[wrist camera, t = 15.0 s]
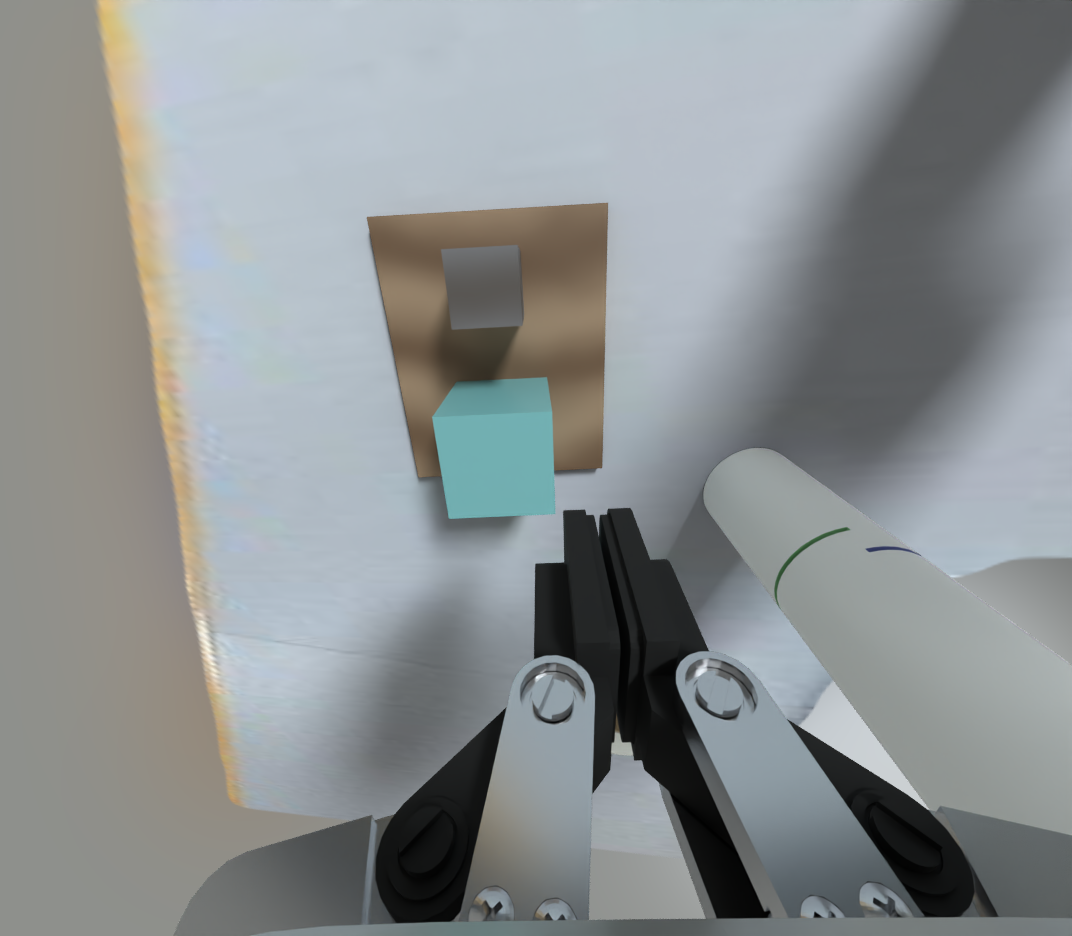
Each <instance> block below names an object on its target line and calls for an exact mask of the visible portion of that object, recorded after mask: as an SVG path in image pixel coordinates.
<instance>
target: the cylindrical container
mask: <svg viewBox="0 0 1072 936" xmlns="http://www.w3.org/2000/svg"><path fill="white" fill-rule="evenodd" d="M703 499H704V504H705V507H706V509H707V511H708V512H709V513H710V515H711V516H712V518H713V519H714V520H715V522H716V523H717V524H718V526H719V527H720V528H721V530H722V531H723V532H724V534H725V535H726V536H727V538H728V539H729V540H730V542H731V543H732V544H733V546H734V547H735V548H736V550H737V551H738V553H739V554H740V555H741V557H742V558H743V559H744V561H745V562H746V563H747V565H748V566H749V567H750V569H751V570H752V571H753V573H754V574H755V575H756V577H757V578H758V579H759V581H760V582H761V583H762V585H763V586H764V588H765V589H766V590H767V592H768V593H769V594H770V596H771V597H772V598H773V600H774V601H775V602H776V604H777V605H778V606H779V608H780V609H781V610H782V612H783V613H784V614H785V616H786V617H787V619H788V620H789V621H790V623H791V624H792V625H793V627H794V628H795V629H796V631H797V632H798V633H799V635H800V636H801V638H802V639H803V640H804V642H805V643H806V644H807V646H808V647H809V648H810V650H811V651H812V652H813V654H814V655H815V656H816V658H817V659H818V660H819V662H820V663H821V664H822V666H823V667H824V668H825V670H826V671H827V672H828V674H829V675H830V676H831V678H832V679H833V681H834V682H835V683H836V685H837V686H838V687H839V688H840V690H841V691H842V693H843V694H844V695H845V697H846V698H847V699H848V701H849V702H850V703H851V704H852V706H853V707H854V709H855V710H856V711H857V713H858V714H859V715H860V717H861V718H862V719H863V721H864V722H865V723H866V725H867V726H868V728H869V729H870V730H871V732H872V733H873V734H874V736H875V737H876V738H877V740H878V741H879V742H880V744H881V745H882V746H883V748H884V749H885V750H886V752H887V753H888V754H889V756H890V757H891V758H892V760H893V761H894V762H895V764H896V765H897V766H898V768H899V769H900V771H901V772H902V773H903V774H904V776H905V777H906V779H907V780H908V781H909V783H910V784H911V785H912V787H913V788H914V789H915V791H916V792H917V793H918V795H919V796H920V797H921V799H922V800H923V801H924V803H925V804H926V805H927V807H928V808H929V810H931V811H937V810H938V808H939V807H940V806H944V807H948V808H953V809H957V810H962V811H966V812H970V813H975V814H979V815H984V816H988V817H993V818H997V819H1002V820H1006V821H1010V822H1015V823H1019V824H1024V825H1028V826H1033V827H1037V828H1041V829H1046V830H1050V831H1055V832H1059V833H1064V834H1068V835H1072V665H1071V664H1070V663H1069V662H1067V661H1066V660H1064V659H1063V658H1062V657H1060V656H1059V655H1057V654H1056V653H1055V652H1053V651H1052V650H1050V649H1049V648H1048V647H1046V646H1045V645H1044V644H1042V643H1041V642H1040V641H1038V640H1037V639H1036V638H1034V637H1033V636H1031V635H1030V634H1029V633H1027V632H1026V631H1024V630H1023V629H1022V628H1020V627H1019V626H1018V625H1016V624H1015V623H1013V622H1012V621H1011V620H1009V619H1008V618H1006V617H1005V616H1004V615H1002V614H1001V613H1000V612H998V611H997V610H995V609H994V608H993V607H991V606H990V605H989V604H987V603H986V602H984V601H983V600H981V599H980V598H979V597H978V596H976V595H975V594H973V593H972V592H971V591H969V590H968V589H966V588H965V587H963V586H962V585H961V584H959V583H958V582H957V581H955V580H954V579H953V578H951V577H950V576H949V575H947V574H946V573H944V572H943V571H942V570H940V569H939V568H937V567H936V566H935V565H933V564H932V563H931V562H929V561H928V560H926V559H925V558H923V557H922V556H921V555H919V554H918V553H917V552H915V551H914V550H913V549H911V548H910V547H908V546H907V545H906V544H904V543H903V542H902V541H900V540H899V539H897V538H896V537H895V536H893V535H892V534H891V533H889V532H888V531H886V530H885V529H884V528H882V527H881V526H879V525H878V524H877V523H875V522H874V521H873V520H871V519H870V518H868V517H867V516H866V515H864V514H863V513H861V512H860V511H859V510H857V509H856V508H855V507H853V506H852V505H850V504H849V503H848V502H846V501H845V500H844V499H842V498H841V497H839V496H838V495H837V494H835V493H834V492H832V491H831V490H830V489H828V488H827V487H826V486H824V485H823V484H821V483H820V482H819V481H817V480H816V479H815V478H813V477H812V476H810V475H809V474H808V473H806V472H805V471H803V470H802V469H801V468H799V467H798V466H797V465H795V464H794V463H792V462H791V461H790V460H788V459H787V458H786V457H784V456H783V455H781V454H780V453H778V452H776V451H774V450H771V449H766V448H750V449H745V450H742V451H739V452H737V453H734V454H732V455H730V456H729V457H727V458H726V459H724V460H723V461H721V462H720V463H719V464H718V465H717V466H716V467H715V468H714V469H713V471H712V472H711V474H710V475H709V477H708V479H707V481H706V483H705V487H704V491H703Z"/></svg>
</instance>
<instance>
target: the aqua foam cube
mask: <svg viewBox="0 0 1072 936" xmlns="http://www.w3.org/2000/svg"><path fill="white" fill-rule="evenodd" d="M432 419H433V426H434V432H435V438H436V444H437V450H438V456H439V462H440V468H441V474H442V480H443V486H444V492H445V498H446V504H447V510H448V516H449V519H457V518H479V517H501V516H523V515H545V514H555V488H554V455H553V421H552V407H551V400H550V394H549V387H548V381H547V377H543V378H522V379H501V380H481V381H460V382H456V383H455V385H454V386H453V388H452V389H451V390H450V392H449V393H448V395H447V396H446V398H445V399H444V401H443V402H442V404H441V405H440V407H439V408H438V409H437V411H436V412H435V414H434V415H433V417H432Z"/></svg>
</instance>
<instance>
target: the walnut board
mask: <svg viewBox="0 0 1072 936" xmlns="http://www.w3.org/2000/svg"><path fill="white" fill-rule="evenodd" d="M367 221H368V226H369V231H370V236H371V241H372V246H373V251H374V256H375V261H376V266H377V271H378V276H379V281H380V286H381V291H382V296H383V301H384V306H385V311H386V316H387V321H388V326H389V331H390V336H391V341H392V346H393V351H394V356H395V362H396V367H397V372H398V377H399V382H400V387H401V392H402V397H403V402H404V407H405V412H406V417H407V422H408V427H409V432H410V437H411V442H412V447H413V452H414V457H415V462H416V467H417V472H418V477H436V476H442V474H441V468H440V462H439V456H438V450H437V444H436V438H435V432H434V426H433V419H432V417H433V415H434V414H435V412H436V411H437V409H438V408H439V407H440V405H441V404H442V402H443V401H444V399H445V398H446V396H447V395H448V393H449V392H450V390H451V389H452V388H453V386H454V385H455V383H456V382H460V381H481V380H501V379H522V378H543V377H547V381H548V387H549V394H550V400H551V407H552V421H553V455H554V470H574V469H593V468H602V453H603V408H604V362H605V316H606V271H607V225H608V203H596V204H579V205H562V206H545V207H528V208H511V209H494V210H478V211H461V212H444V213H427V214H410V215H393V216H376V217H367Z"/></svg>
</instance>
